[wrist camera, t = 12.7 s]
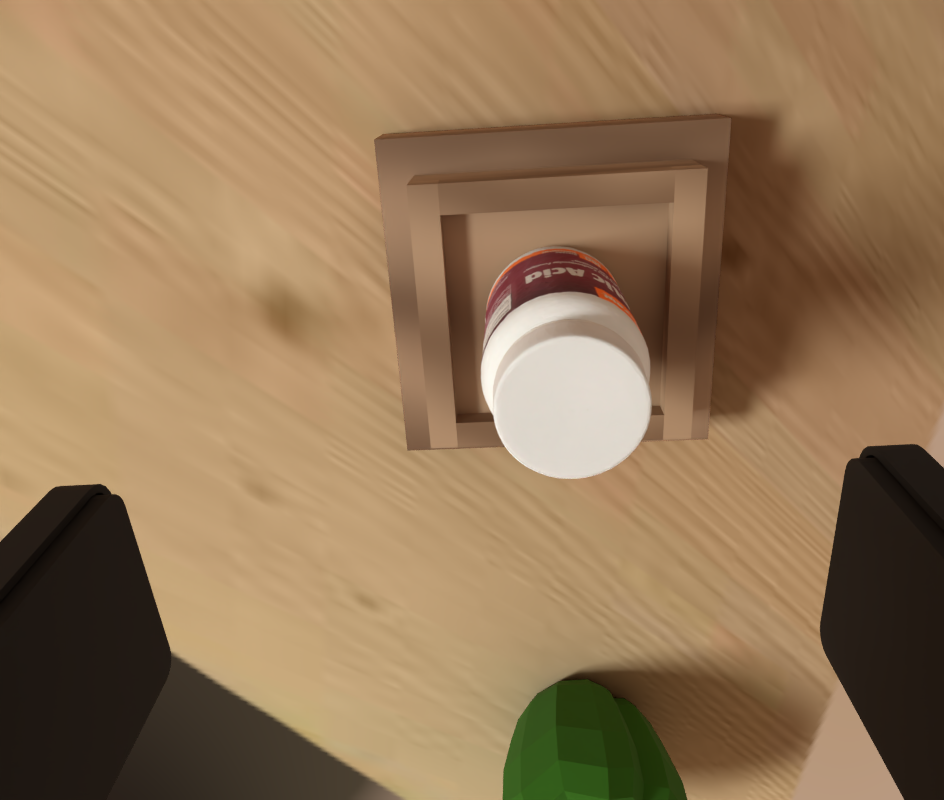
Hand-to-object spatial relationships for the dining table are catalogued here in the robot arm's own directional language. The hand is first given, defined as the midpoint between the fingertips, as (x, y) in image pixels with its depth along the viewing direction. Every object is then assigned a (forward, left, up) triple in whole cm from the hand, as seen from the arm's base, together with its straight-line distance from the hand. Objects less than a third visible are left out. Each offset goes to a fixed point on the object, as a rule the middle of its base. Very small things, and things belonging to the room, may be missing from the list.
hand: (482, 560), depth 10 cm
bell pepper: (+25, +3, -21) cm, 33 cm away
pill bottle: (+2, +2, -18) cm, 18 cm away
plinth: (+2, +2, -21) cm, 21 cm away
